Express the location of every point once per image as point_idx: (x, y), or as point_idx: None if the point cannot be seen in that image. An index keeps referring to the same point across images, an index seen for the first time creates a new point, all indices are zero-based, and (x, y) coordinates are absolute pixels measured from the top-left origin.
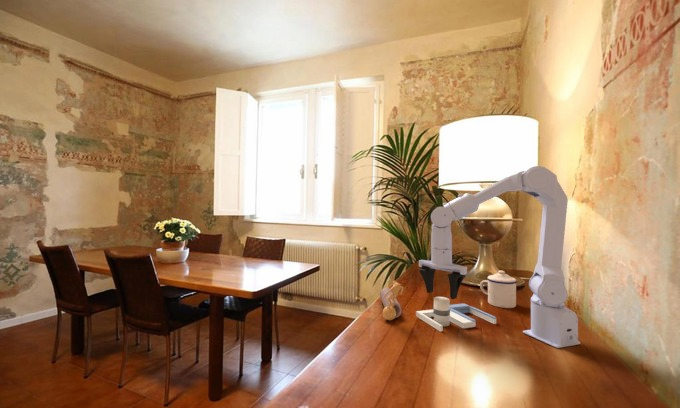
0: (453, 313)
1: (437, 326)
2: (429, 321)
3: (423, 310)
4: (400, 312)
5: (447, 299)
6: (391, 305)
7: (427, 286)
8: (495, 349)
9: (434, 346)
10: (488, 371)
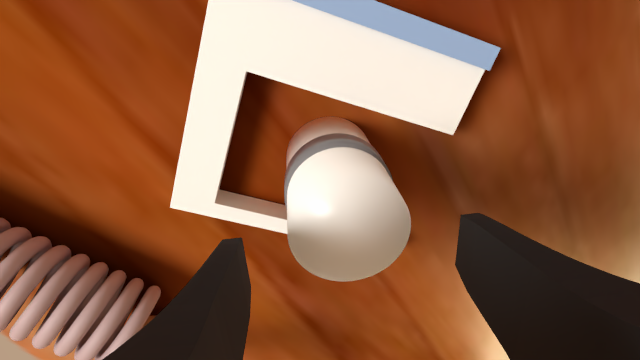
0: (329, 34)
1: None
2: None
3: (179, 160)
4: (158, 298)
5: (387, 206)
6: None
7: (241, 346)
8: (616, 200)
9: (440, 339)
10: None
